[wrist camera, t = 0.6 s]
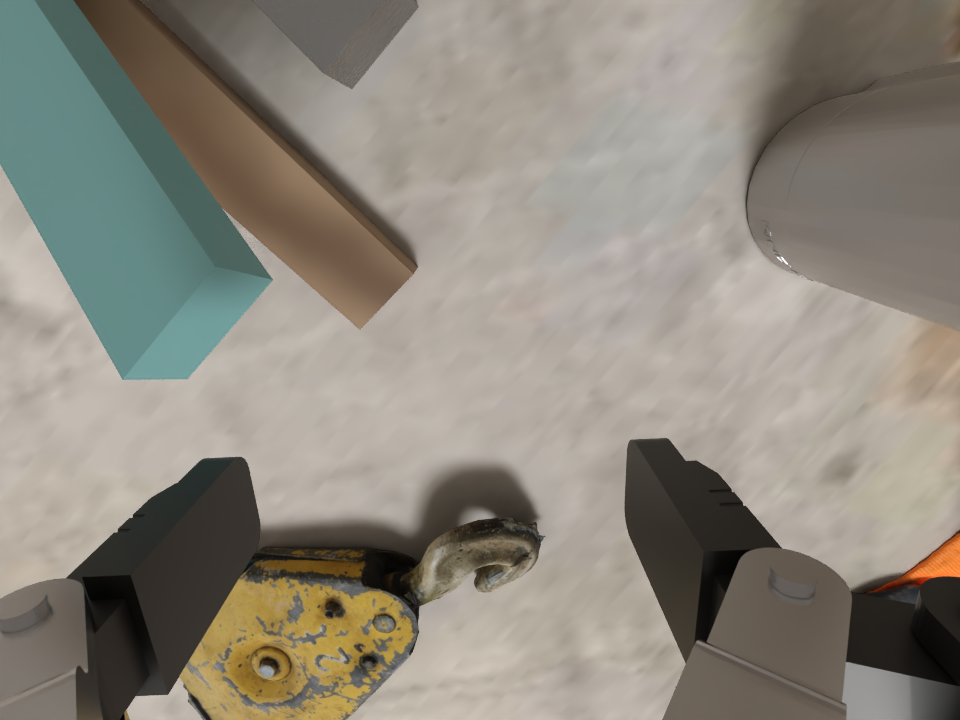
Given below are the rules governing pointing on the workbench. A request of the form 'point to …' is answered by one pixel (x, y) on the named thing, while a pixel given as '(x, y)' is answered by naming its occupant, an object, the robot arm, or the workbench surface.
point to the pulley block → (336, 621)
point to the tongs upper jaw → (116, 197)
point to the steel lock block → (340, 31)
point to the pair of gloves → (923, 573)
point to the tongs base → (253, 166)
